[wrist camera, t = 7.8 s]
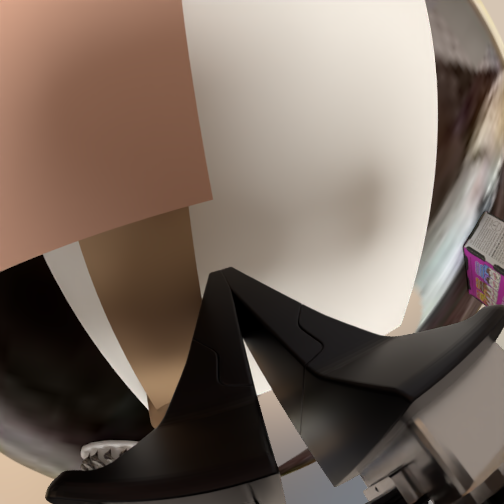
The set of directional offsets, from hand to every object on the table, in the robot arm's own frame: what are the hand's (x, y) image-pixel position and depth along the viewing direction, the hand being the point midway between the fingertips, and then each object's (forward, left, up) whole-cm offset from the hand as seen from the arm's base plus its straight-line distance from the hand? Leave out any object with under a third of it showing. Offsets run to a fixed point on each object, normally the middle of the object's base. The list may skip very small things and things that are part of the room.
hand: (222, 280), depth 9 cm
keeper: (-3, +8, -2) cm, 9 cm away
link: (-3, -1, -1) cm, 3 cm away
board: (+3, +1, -2) cm, 4 cm away
